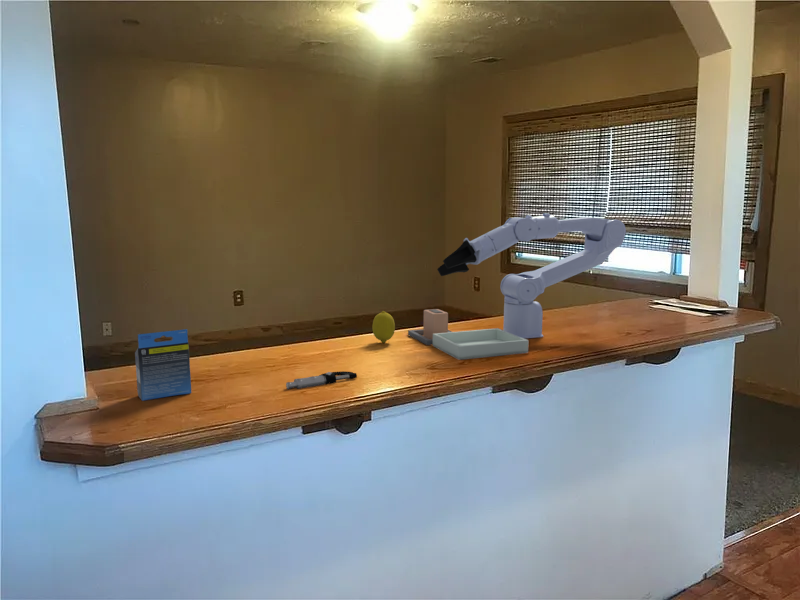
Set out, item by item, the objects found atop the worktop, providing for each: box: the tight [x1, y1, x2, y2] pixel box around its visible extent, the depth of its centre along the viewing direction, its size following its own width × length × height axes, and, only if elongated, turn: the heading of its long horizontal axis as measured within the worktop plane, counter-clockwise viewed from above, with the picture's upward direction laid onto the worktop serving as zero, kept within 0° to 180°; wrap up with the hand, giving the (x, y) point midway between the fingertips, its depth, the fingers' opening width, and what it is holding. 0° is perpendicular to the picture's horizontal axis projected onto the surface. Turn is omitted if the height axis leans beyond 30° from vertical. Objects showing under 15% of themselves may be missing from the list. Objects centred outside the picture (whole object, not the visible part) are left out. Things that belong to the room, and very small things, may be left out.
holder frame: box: [407, 329, 453, 346], centre depth 169 cm, size 10×12×1 cm
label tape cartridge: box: [134, 328, 192, 402], centre depth 121 cm, size 9×4×12 cm, turn 121°
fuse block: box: [422, 308, 449, 339], centre depth 168 cm, size 4×6×7 cm, turn 22°
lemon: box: [371, 310, 396, 344], centre depth 163 cm, size 6×6×8 cm
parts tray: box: [432, 327, 529, 361], centre depth 157 cm, size 18×14×3 cm
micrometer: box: [285, 370, 358, 390], centre depth 132 cm, size 15×7×2 cm, turn 120°
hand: (442, 268), depth 162 cm, fingers open, 7 cm apart
